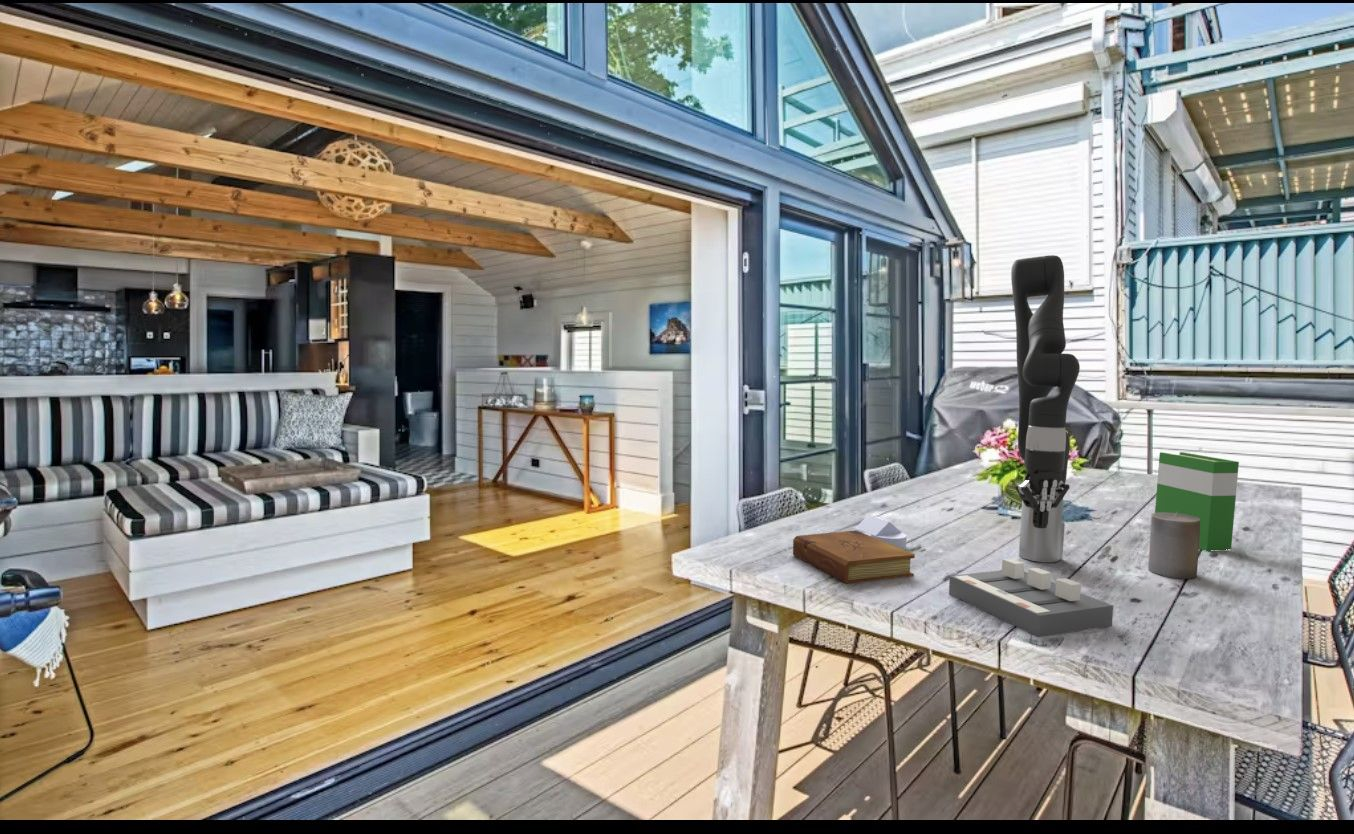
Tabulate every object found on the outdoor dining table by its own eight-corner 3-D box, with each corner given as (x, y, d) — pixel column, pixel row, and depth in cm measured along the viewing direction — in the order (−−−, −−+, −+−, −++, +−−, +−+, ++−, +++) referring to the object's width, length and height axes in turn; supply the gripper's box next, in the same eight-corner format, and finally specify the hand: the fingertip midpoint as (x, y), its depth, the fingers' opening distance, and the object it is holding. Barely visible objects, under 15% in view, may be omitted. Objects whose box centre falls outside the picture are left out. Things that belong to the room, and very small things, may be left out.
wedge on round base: (854, 540, 197) (886, 552, 185) (855, 516, 196) (887, 527, 185) (880, 537, 201) (913, 549, 189) (881, 513, 200) (914, 524, 188)
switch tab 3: (1064, 593, 142) (1065, 578, 141) (1080, 600, 138) (1081, 583, 138) (1055, 595, 141) (1056, 579, 141) (1070, 601, 137) (1071, 585, 137)
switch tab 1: (1010, 572, 155) (1011, 558, 154) (1023, 577, 151) (1024, 563, 151) (1001, 573, 154) (1002, 559, 154) (1014, 578, 151) (1015, 564, 150)
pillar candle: (1194, 571, 173) (1198, 509, 172) (1199, 581, 164) (1203, 517, 163) (1146, 565, 178) (1150, 505, 177) (1148, 575, 169) (1152, 512, 168)
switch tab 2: (1036, 582, 148) (1037, 567, 148) (1050, 588, 145) (1051, 573, 144) (1027, 584, 147) (1028, 568, 147) (1041, 589, 144) (1042, 574, 144)
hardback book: (1153, 534, 208) (1159, 452, 206) (1175, 533, 209) (1182, 452, 207) (1206, 551, 191) (1214, 462, 188) (1230, 550, 192) (1238, 461, 189)
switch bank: (1015, 586, 160) (1016, 567, 159) (1111, 625, 137) (1113, 604, 137) (948, 594, 154) (949, 575, 154) (1038, 636, 131) (1039, 614, 131)
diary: (792, 558, 181) (793, 536, 181) (855, 552, 188) (856, 530, 187) (845, 586, 160) (845, 560, 159) (913, 577, 166) (914, 553, 166)
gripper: (1055, 444, 158) (1049, 521, 160) (1007, 445, 154) (1002, 525, 156) (1084, 449, 151) (1078, 530, 153) (1034, 450, 147) (1029, 533, 148)
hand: (1039, 527), depth 154 cm, fingers closed
